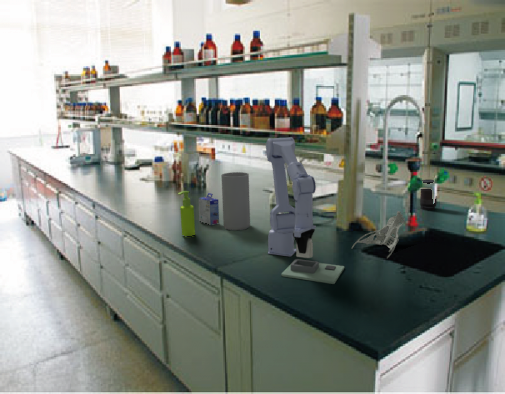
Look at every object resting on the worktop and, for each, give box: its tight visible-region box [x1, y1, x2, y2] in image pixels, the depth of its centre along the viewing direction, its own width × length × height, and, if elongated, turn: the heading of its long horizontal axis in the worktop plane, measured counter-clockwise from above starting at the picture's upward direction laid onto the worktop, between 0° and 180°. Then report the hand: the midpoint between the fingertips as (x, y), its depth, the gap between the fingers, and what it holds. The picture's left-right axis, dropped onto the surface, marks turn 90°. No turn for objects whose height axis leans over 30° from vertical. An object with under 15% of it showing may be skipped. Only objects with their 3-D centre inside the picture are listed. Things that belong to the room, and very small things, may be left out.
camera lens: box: [419, 179, 437, 211], centre depth 224 cm, size 8×8×15 cm
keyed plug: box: [295, 237, 314, 259], centre depth 147 cm, size 5×3×6 cm, turn 66°
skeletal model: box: [351, 211, 405, 259], centre depth 171 cm, size 16×9×25 cm
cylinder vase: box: [220, 171, 251, 231], centre depth 200 cm, size 12×12×25 cm
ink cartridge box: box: [198, 192, 220, 226], centre depth 210 cm, size 10×6×14 cm, turn 41°
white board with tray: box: [280, 258, 345, 285], centre depth 147 cm, size 18×14×3 cm
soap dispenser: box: [177, 190, 196, 237], centre depth 190 cm, size 6×7×20 cm
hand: (304, 251), depth 147 cm, fingers closed on keyed plug, 3 cm apart
